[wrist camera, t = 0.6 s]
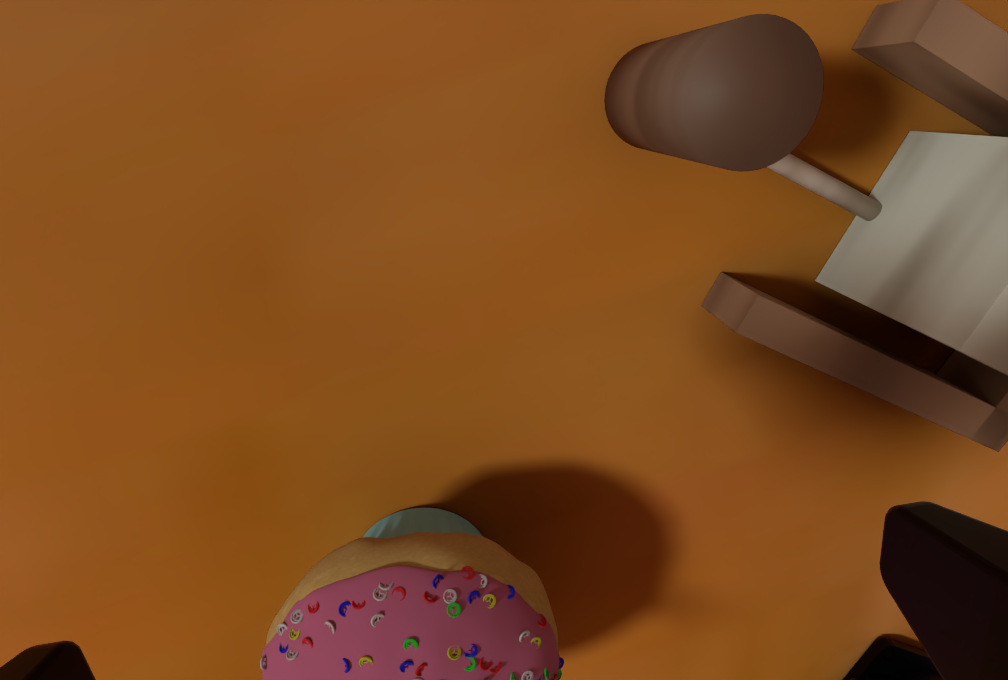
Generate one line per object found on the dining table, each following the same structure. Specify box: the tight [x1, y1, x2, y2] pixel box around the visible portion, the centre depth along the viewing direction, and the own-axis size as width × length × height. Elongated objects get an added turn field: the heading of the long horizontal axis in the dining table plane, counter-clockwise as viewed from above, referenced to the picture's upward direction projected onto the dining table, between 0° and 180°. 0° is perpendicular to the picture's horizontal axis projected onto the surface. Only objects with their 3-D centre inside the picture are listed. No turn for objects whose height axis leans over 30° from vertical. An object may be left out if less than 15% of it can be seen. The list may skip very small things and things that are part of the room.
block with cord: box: [605, 14, 1008, 375], centre depth 16 cm, size 14×5×6 cm, turn 65°
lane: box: [701, 0, 1008, 452], centre depth 19 cm, size 10×9×2 cm
